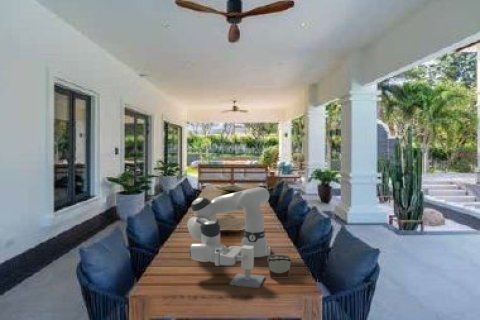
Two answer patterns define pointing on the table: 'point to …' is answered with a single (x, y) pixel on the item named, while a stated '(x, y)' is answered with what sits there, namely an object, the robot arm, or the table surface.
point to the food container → (279, 266)
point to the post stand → (247, 279)
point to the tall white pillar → (249, 253)
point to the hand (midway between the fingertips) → (248, 256)
